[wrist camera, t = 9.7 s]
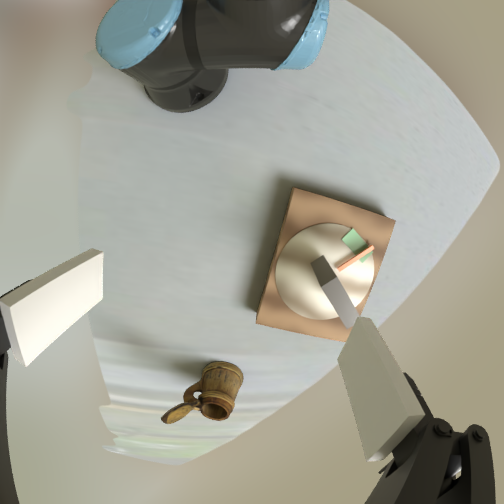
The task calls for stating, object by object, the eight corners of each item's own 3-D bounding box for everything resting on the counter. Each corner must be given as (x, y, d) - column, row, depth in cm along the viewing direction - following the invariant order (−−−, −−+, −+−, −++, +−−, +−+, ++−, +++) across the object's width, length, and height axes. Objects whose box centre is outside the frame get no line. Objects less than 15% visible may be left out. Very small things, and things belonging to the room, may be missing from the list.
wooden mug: (190, 347, 54) (164, 406, 37) (249, 369, 55) (241, 433, 37) (180, 373, 57) (156, 430, 39) (235, 394, 57) (224, 454, 40)
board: (292, 186, 44) (295, 187, 40) (386, 217, 44) (396, 221, 40) (256, 312, 51) (255, 324, 46) (343, 331, 51) (348, 343, 47)
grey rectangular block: (309, 260, 43) (320, 287, 32) (361, 226, 41) (388, 242, 30) (331, 296, 44) (347, 329, 34) (381, 263, 42) (409, 288, 32)
